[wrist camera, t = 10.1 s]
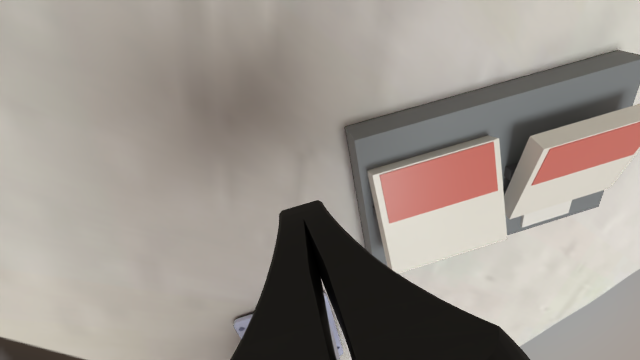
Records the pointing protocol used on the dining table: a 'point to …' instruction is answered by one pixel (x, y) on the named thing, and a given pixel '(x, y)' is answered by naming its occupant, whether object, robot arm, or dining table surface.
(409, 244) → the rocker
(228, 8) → the dining table surface
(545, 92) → the switch panel
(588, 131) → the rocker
